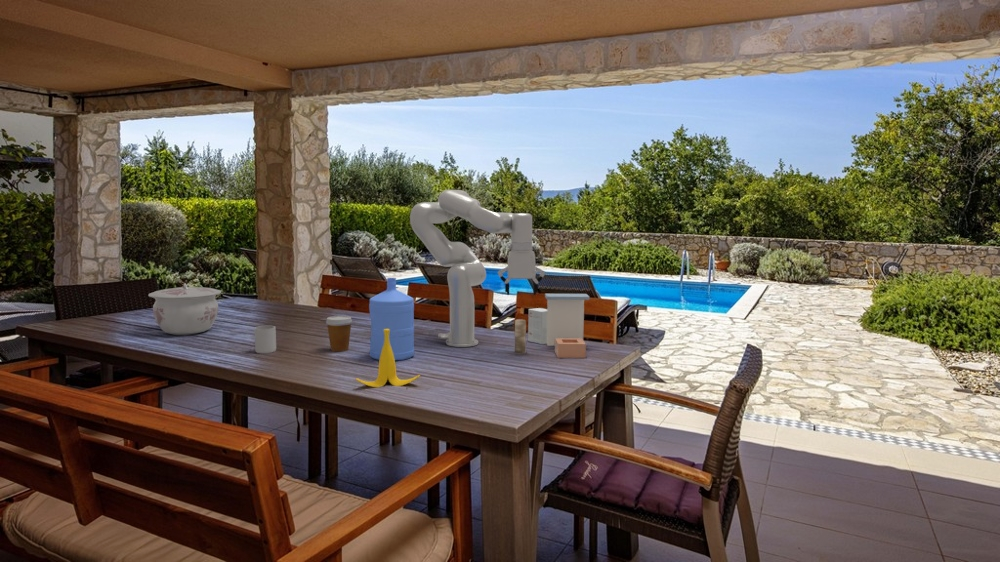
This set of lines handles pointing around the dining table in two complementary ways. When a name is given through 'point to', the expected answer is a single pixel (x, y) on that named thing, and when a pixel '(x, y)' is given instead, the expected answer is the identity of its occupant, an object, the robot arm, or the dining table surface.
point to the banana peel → (387, 367)
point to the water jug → (392, 322)
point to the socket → (570, 348)
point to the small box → (537, 325)
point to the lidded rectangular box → (565, 316)
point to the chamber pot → (185, 309)
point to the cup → (265, 339)
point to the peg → (520, 336)
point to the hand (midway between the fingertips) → (521, 294)
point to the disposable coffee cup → (339, 332)
